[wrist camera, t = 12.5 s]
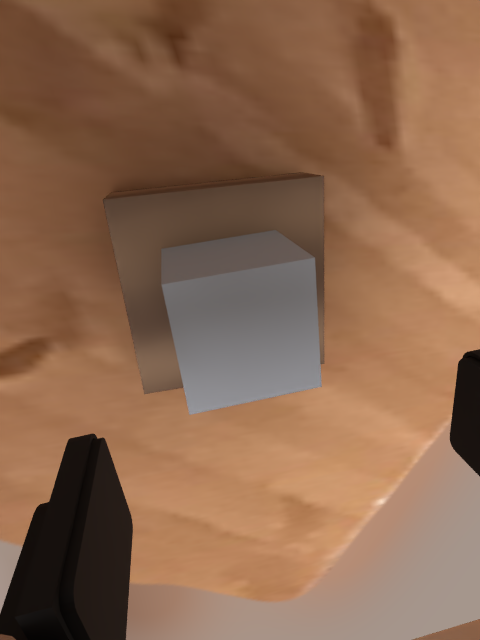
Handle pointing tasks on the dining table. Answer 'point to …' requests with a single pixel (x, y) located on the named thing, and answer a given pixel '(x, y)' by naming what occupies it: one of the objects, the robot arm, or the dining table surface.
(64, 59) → the dining table surface
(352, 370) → the dining table surface
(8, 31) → the dining table surface
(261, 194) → the walnut block
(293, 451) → the dining table surface
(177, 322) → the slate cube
